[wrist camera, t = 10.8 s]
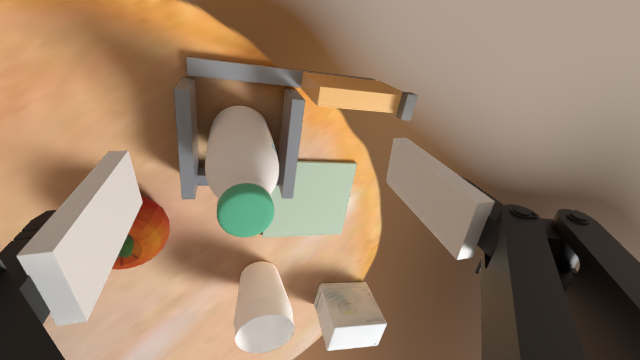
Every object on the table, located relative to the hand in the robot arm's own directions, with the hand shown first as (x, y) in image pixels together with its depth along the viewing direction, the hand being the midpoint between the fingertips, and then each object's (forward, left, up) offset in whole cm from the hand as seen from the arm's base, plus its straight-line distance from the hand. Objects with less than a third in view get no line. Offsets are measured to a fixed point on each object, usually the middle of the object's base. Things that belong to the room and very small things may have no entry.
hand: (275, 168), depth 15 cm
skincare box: (+20, -42, -27) cm, 53 cm away
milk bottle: (-1, -8, -27) cm, 28 cm away
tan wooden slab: (+12, 0, -25) cm, 28 cm away
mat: (+10, -19, -27) cm, 34 cm away
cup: (+3, -35, -27) cm, 44 cm away
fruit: (-15, -21, -27) cm, 37 cm away
